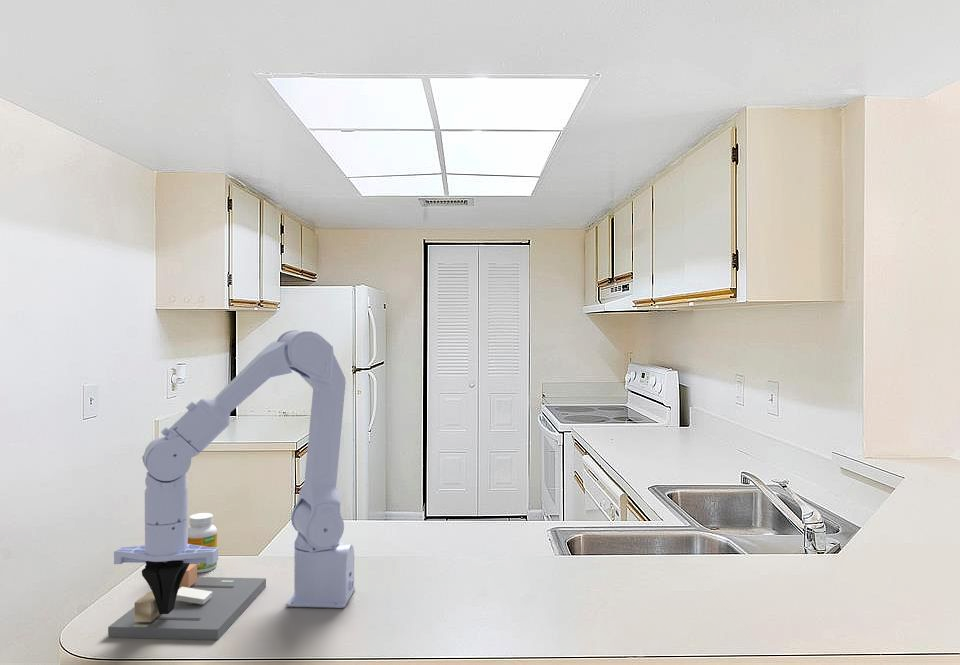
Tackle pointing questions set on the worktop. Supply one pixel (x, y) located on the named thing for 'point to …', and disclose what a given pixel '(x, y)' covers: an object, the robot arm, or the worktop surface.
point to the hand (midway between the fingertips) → (166, 611)
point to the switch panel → (196, 612)
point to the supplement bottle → (202, 536)
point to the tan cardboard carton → (146, 608)
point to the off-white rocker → (193, 595)
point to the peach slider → (189, 576)
